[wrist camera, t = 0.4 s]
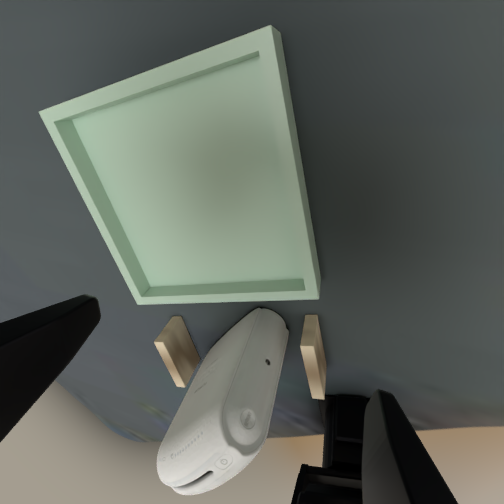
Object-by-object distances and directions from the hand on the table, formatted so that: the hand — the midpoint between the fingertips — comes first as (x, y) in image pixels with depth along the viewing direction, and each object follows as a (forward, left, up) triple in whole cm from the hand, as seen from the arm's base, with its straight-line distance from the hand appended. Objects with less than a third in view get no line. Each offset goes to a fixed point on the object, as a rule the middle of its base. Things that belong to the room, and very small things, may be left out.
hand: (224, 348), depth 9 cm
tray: (+1, +7, -13) cm, 15 cm away
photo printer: (-13, +7, -14) cm, 20 cm away
